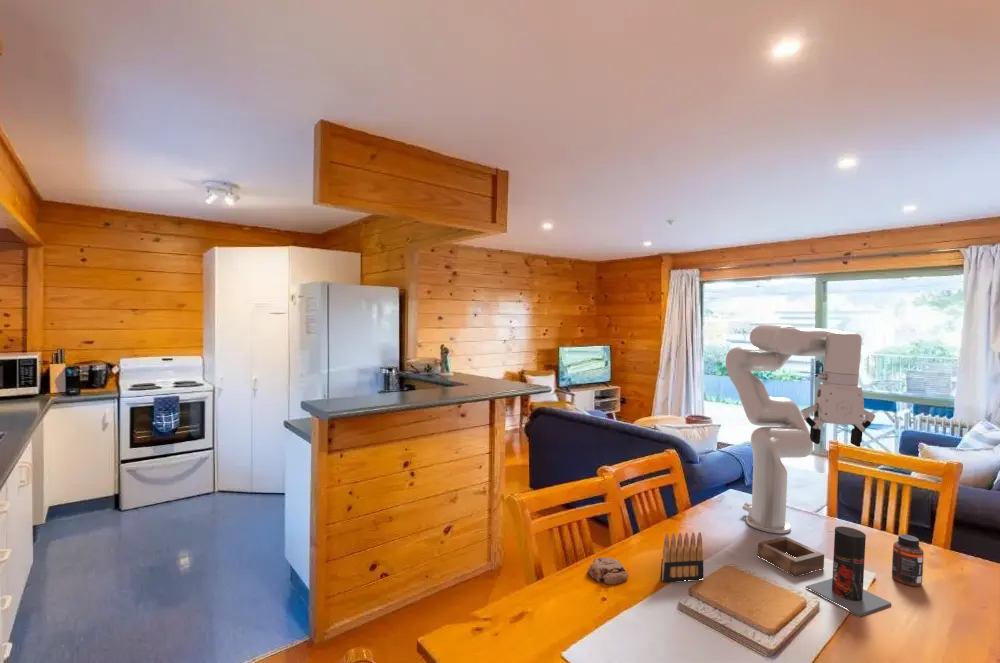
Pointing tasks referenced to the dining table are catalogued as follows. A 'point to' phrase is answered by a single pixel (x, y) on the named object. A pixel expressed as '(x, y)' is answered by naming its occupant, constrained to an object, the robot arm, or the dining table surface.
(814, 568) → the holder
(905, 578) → the supplement bottle
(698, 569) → the ammunition clip
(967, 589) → the dining table surface
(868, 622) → the dining table surface
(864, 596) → the mat
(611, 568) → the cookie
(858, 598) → the deodorant
